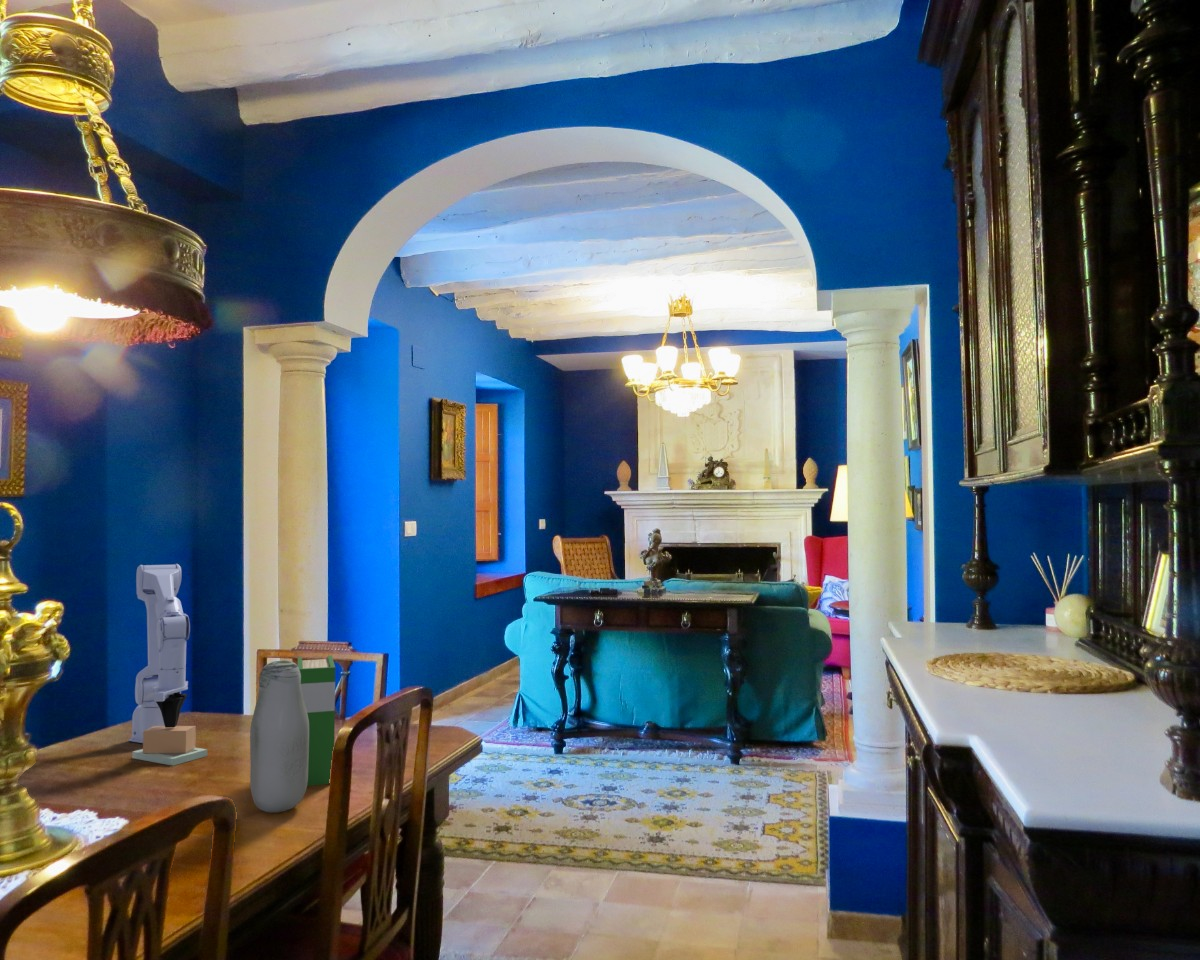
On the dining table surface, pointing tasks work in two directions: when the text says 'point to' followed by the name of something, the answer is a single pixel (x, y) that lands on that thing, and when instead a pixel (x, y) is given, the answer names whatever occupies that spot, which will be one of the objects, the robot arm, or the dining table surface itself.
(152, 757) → the header board
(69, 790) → the dining table surface
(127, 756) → the dining table surface
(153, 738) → the block
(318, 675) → the hardback book
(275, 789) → the gray bottle
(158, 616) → the robot arm
